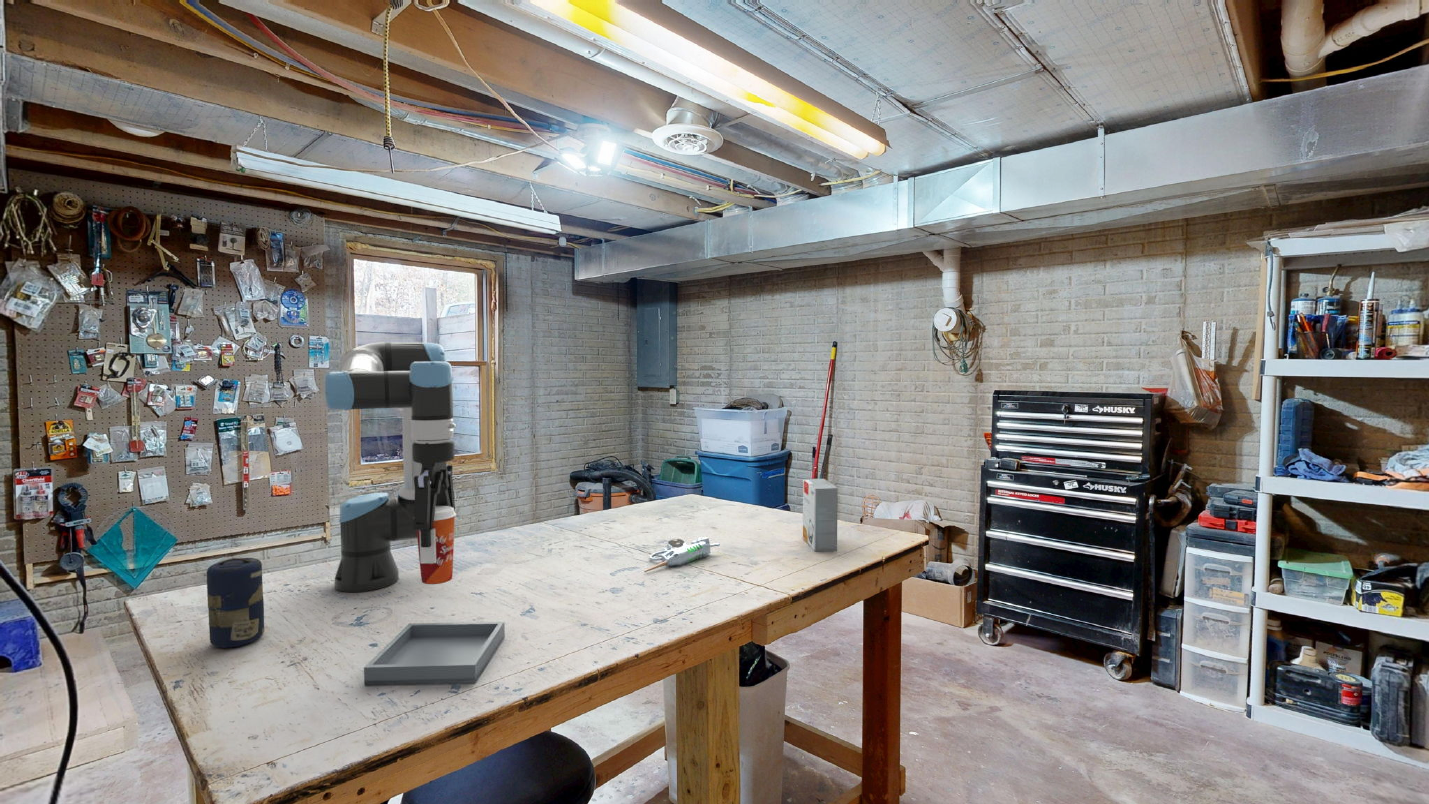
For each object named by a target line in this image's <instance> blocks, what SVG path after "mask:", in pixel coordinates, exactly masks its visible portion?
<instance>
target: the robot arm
mask: <svg viewBox="0 0 1429 804" xmlns="http://www.w3.org/2000/svg"><path fill="white" fill-rule="evenodd" d="M337 367H338V368H337V370H338V371H329V372H327V373H326V374H325V377H324V396H325V397H324V398H325V404H326V407H327V408H328V409H329V410H336V411H337V410H338V411H339V410H343V411H350V410H369V409H371V410H372V409H401V418H402V419H401V421H402V423H401V424H402V425H401V426H402V461H403V462H402V464H403V466H402V467H403V468H402V469H403V485H402V487H400V488H399V489H398V491H397V497H390V495H389V493H388V492H373V493H372V492H370V493H366V494H362V495H358V496H354V497H352V498H349V499H347V500H345V501H344V502H342V504H341V505H340V506H339V507H340V508H339V519H338V522H339V524H340V526H339V527H340V552H341V553H340V555H341V557H340V561H339V564H338V567H337V570H336V573H335V575H334V589H335V590H337V591H339V592H345V593H346V592H347V593H361V592H369V591H373V590H379V589H382V588H386V587H388V586H390V585H394V583H396V582H398V580H399V579H400V577H399V576H400V575H399V574H400V573H399V568H398V566H397V564H396V561H395V559H394V556H393V554H392V551H391V542H397V541H407V540H416V539H417V530H419V535H420V561H419V565H420V564H422V563H436V533H435V529H433V523H434V515H435V507H436V506H450V507H453V508H454V512H455V513H456V514H457V512H456V504H455V503H456V501H455V491H454V482H453V480H454V479H453V465H452V464H447V462H450V461H453V460H454V459H455V442H454V441H453V440H452V439H453V438H454V437H455V436H454V429H455V428H456V427H457V425H456V423H454V411H453V409H454V407H453V406H454V404H453V399H454V396H453V391H454V390H453V381H454V377H453V370H452V369H453V368H452V365H451V363H450V362H448V361H447V357H446V353H445V350H444V348H443V346H442V345H441V344H439V343H436V342H434V343H433V342H423V341H421V342H420V341H415V342H412V341H411V342H409V341H408V342H403V341H402V342H401V341H400V342H385V341H383V342H382V341H381V342H372V343H367V344H363V345H360V346H356V347H355V348H352V349H350V350H349V351H347V352H346V353H344V354H343V356H342V357H341V358H340V360H339V362H338V366H337ZM423 522H424V523H423Z"/></svg>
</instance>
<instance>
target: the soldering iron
mask: <svg viewBox="0 0 1429 804" xmlns="http://www.w3.org/2000/svg"><path fill="white" fill-rule="evenodd" d="M709 539H710V538H709V537H705V536H704V537H703V536H702V537H698V538H697V539H695V540H692V541H691V544H687V543H686V541H684V540H683V539H680V538H673V539H671V540H668V541H667V542H666V546H667V548H665V547H661V548H660V549H661V551H656V552H654V553H651V555H649V560H651V561H653V562H657V561H661V563H657V564H656V565H653V566H652V567H649V568H647V569H645V570H643V572H644V573H648V572H650V571H653V570H656V569H658V568H661V567H665V566H668V567H681V566H683V565H685V564H687V563H690V562H693V561H695V560H698V559H702V558H703V557H704V558H705V557H707V556H709V555H710V554H711V548H714V547H719V546H720V542H716V543H710V540H709Z"/></svg>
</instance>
